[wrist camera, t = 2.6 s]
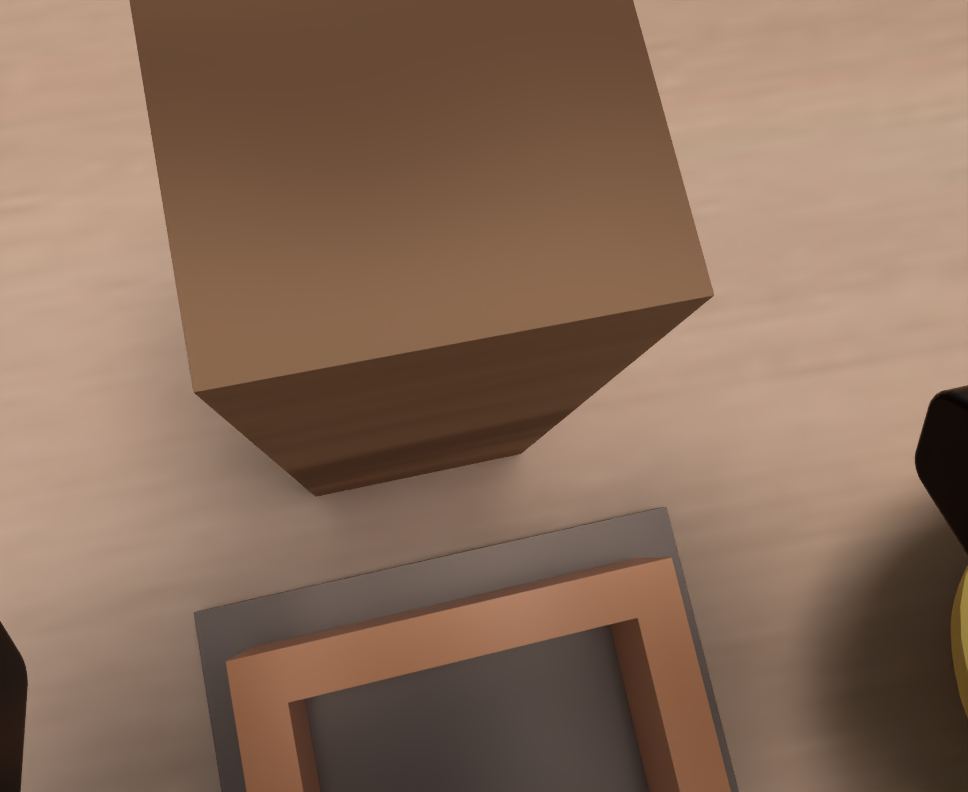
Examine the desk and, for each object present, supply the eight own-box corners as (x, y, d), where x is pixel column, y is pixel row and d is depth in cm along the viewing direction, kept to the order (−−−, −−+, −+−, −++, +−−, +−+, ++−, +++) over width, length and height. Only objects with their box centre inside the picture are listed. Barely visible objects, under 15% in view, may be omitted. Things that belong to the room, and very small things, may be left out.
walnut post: (520, 453, 20) (714, 296, 8) (316, 496, 20) (192, 392, 7) (477, 261, 21) (594, -142, 9) (279, 296, 20) (114, -93, 8)
